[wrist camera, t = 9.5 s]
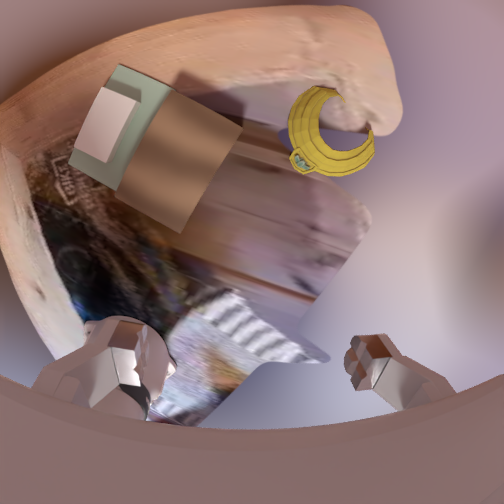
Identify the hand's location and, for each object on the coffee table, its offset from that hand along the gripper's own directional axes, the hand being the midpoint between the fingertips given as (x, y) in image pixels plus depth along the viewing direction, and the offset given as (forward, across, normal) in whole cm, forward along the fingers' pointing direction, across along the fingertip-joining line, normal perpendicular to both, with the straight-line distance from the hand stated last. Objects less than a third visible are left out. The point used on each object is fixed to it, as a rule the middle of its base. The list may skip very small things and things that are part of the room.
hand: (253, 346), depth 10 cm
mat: (+29, +17, -9) cm, 35 cm away
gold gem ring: (+30, -11, -10) cm, 33 cm away
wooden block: (+29, +8, -5) cm, 30 cm away
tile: (+27, +18, -9) cm, 34 cm away
